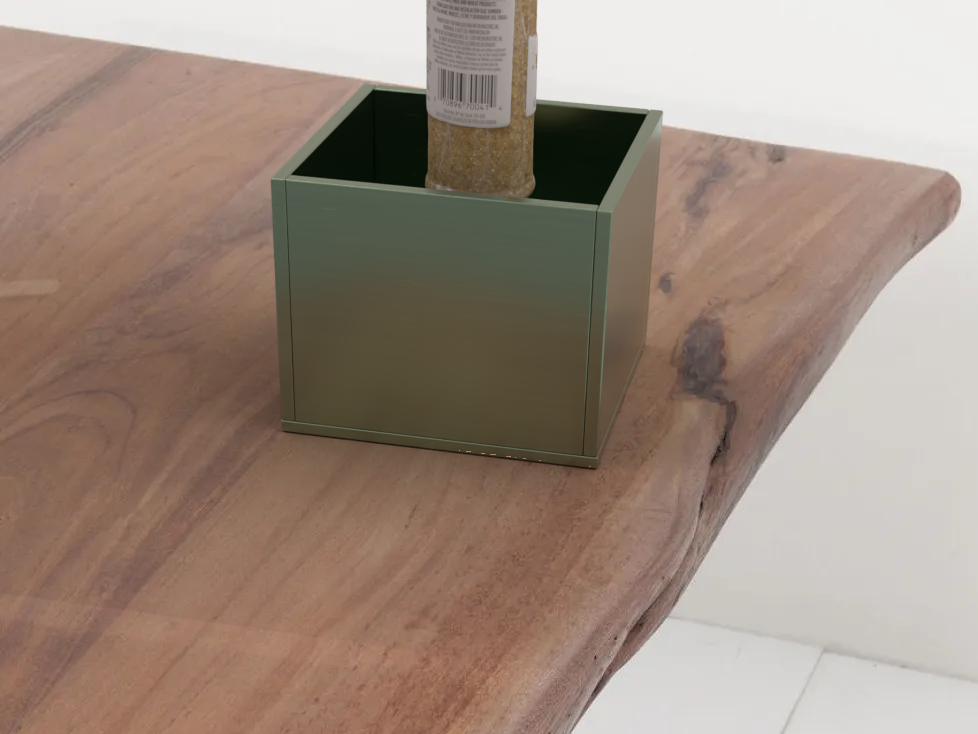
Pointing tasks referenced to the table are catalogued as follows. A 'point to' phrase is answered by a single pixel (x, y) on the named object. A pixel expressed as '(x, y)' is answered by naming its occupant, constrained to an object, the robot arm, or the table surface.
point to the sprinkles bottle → (481, 95)
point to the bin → (464, 283)
